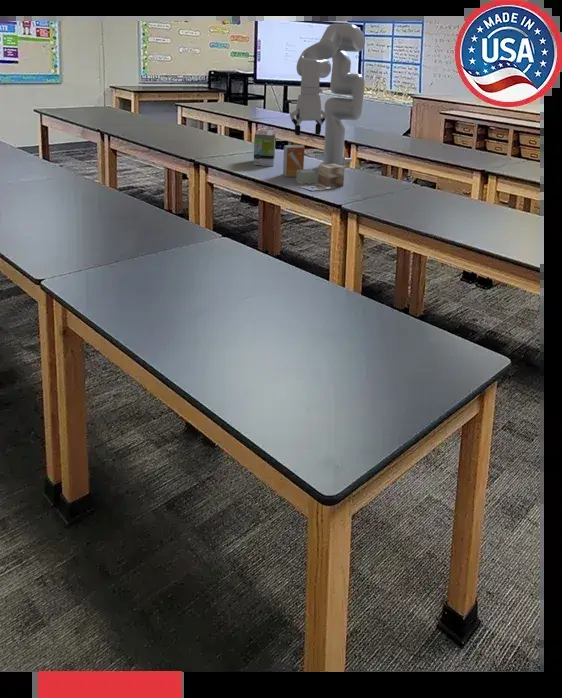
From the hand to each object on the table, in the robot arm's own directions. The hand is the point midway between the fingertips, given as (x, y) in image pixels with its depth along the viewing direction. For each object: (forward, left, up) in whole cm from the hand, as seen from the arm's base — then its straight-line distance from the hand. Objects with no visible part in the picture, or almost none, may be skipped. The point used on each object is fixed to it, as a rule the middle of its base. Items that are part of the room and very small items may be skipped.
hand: (307, 134), depth 287 cm
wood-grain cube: (-8, +8, -20) cm, 23 cm away
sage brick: (0, 0, -20) cm, 20 cm away
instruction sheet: (+1, +12, -20) cm, 23 cm away
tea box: (-1, -45, -20) cm, 49 cm away
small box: (-1, -14, -20) cm, 25 cm away
